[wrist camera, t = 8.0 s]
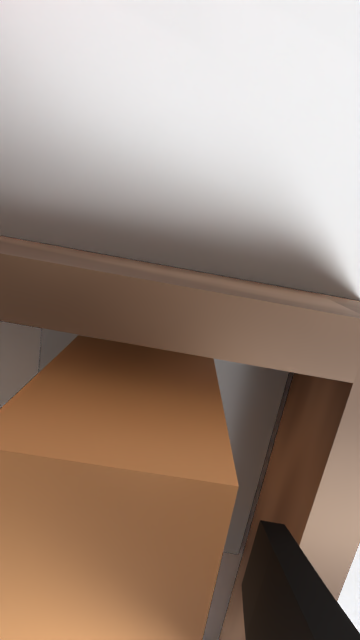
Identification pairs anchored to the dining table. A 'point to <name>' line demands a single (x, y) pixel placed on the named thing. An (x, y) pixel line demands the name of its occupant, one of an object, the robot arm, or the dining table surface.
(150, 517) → the block
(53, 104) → the dining table surface
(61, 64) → the dining table surface
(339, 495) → the arena
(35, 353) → the dining table surface
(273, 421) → the pad
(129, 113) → the dining table surface
